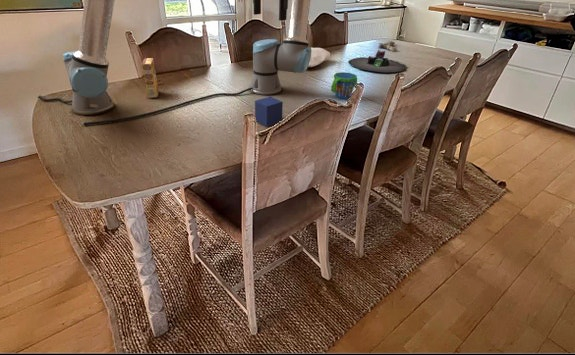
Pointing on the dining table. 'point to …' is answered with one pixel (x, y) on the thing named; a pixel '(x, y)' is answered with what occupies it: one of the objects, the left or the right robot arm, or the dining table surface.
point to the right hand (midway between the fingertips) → (269, 17)
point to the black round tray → (377, 63)
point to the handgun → (388, 45)
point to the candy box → (150, 77)
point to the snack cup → (343, 84)
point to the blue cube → (268, 111)
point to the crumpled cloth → (318, 56)
